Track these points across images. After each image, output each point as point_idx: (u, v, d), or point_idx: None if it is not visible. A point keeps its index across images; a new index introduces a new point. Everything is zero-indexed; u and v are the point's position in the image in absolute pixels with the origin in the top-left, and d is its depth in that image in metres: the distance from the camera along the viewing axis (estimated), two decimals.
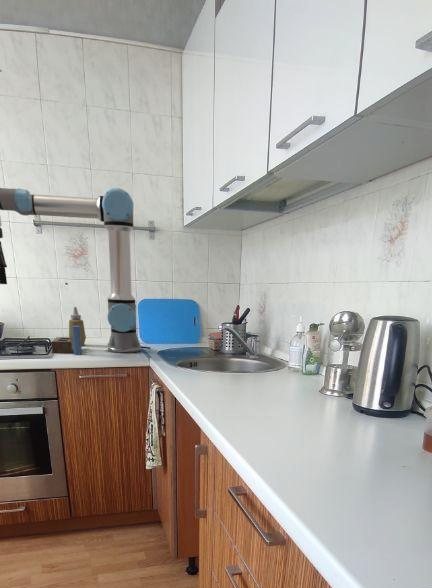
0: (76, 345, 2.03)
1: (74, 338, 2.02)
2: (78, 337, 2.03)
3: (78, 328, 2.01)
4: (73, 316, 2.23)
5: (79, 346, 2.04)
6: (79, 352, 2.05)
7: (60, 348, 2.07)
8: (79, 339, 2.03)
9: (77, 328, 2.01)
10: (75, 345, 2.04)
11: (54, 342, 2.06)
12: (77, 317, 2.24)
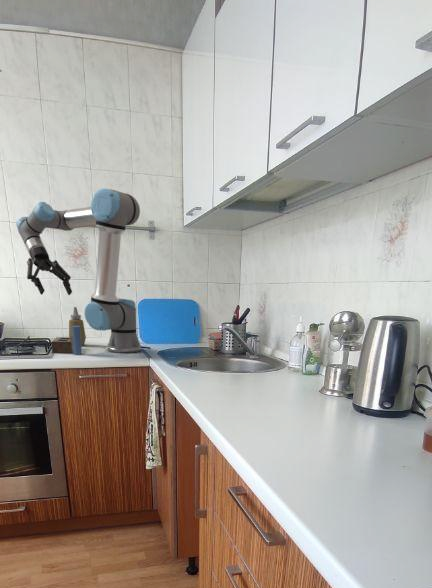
0: (76, 345, 2.03)
1: (74, 338, 2.02)
2: (78, 337, 2.03)
3: (78, 328, 2.01)
4: (73, 316, 2.23)
5: (79, 346, 2.04)
6: (79, 352, 2.05)
7: (60, 348, 2.07)
8: (79, 339, 2.03)
9: (77, 328, 2.01)
10: (75, 345, 2.04)
11: (54, 342, 2.06)
12: (77, 317, 2.24)
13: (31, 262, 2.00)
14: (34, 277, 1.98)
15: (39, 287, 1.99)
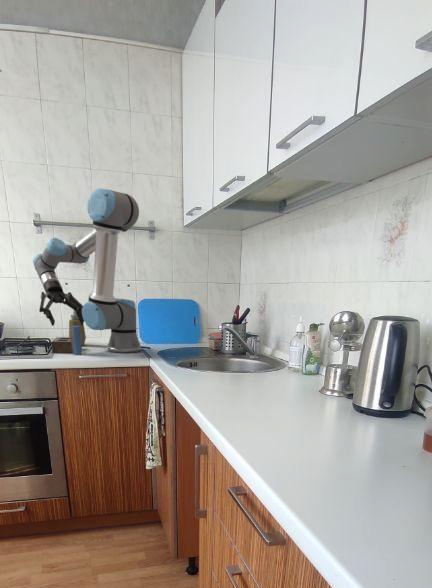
0: (76, 345, 2.03)
1: (74, 338, 2.02)
2: (78, 337, 2.03)
3: (78, 328, 2.01)
4: (73, 316, 2.23)
5: (79, 346, 2.04)
6: (79, 352, 2.05)
7: (60, 348, 2.07)
8: (79, 339, 2.03)
9: (77, 328, 2.01)
10: (75, 345, 2.04)
11: (54, 342, 2.06)
12: (77, 317, 2.24)
13: (43, 296, 2.05)
14: (45, 309, 2.03)
15: (50, 319, 2.03)
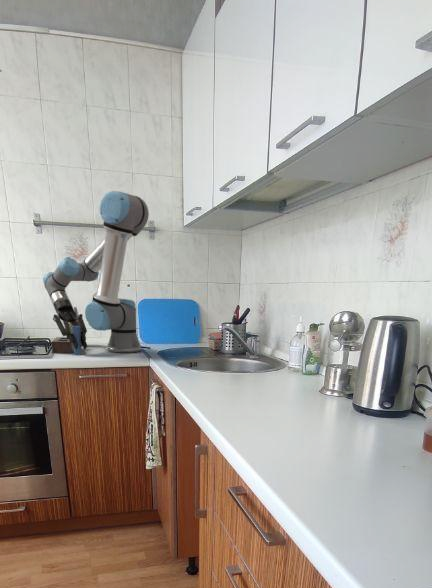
0: None
1: None
2: (78, 337, 2.03)
3: (78, 328, 2.01)
4: None
5: (79, 346, 2.04)
6: (79, 352, 2.05)
7: (60, 348, 2.07)
8: (79, 339, 2.03)
9: (77, 328, 2.01)
10: None
11: (54, 342, 2.06)
12: None
13: (58, 318, 2.02)
14: (69, 333, 2.01)
15: (73, 342, 2.02)
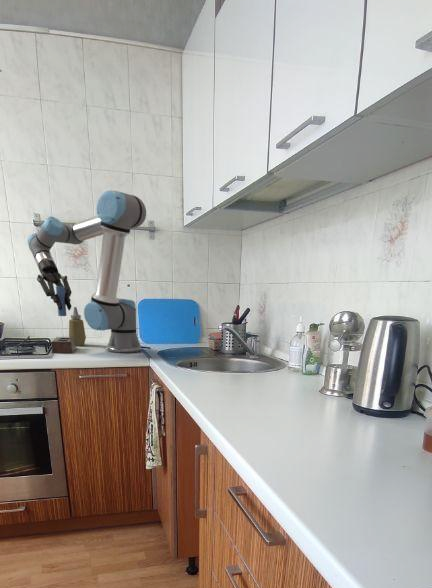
0: None
1: None
2: (62, 298, 2.01)
3: (62, 288, 2.00)
4: (73, 316, 2.23)
5: (63, 307, 2.03)
6: (63, 313, 2.04)
7: (60, 348, 2.07)
8: (63, 300, 2.02)
9: (61, 288, 2.00)
10: None
11: (54, 342, 2.06)
12: (77, 317, 2.24)
13: (42, 278, 2.00)
14: (53, 294, 2.00)
15: (57, 303, 2.00)
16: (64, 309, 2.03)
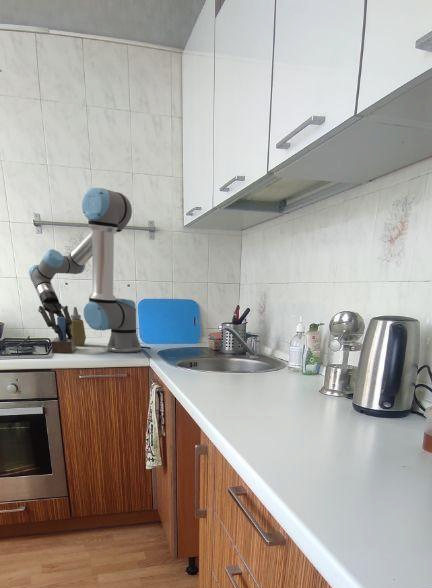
0: None
1: None
2: (63, 328, 2.07)
3: (63, 319, 2.05)
4: (73, 316, 2.23)
5: (64, 337, 2.08)
6: None
7: (60, 348, 2.07)
8: (64, 330, 2.07)
9: (62, 319, 2.05)
10: None
11: (54, 342, 2.06)
12: (77, 317, 2.24)
13: (43, 309, 2.06)
14: (54, 324, 2.05)
15: (58, 333, 2.06)
16: (65, 339, 2.09)
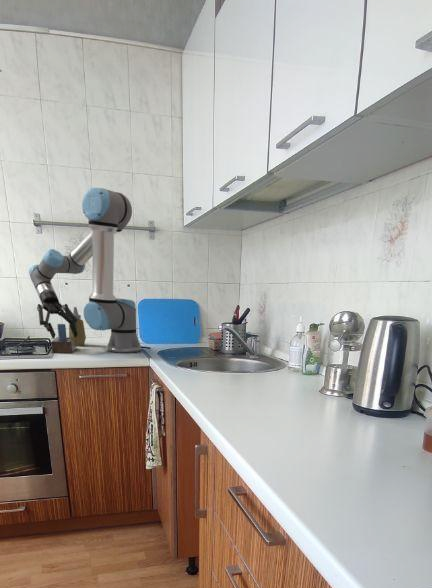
0: None
1: (60, 336, 2.08)
2: (63, 335, 2.08)
3: (63, 326, 2.07)
4: None
5: None
6: None
7: (60, 348, 2.07)
8: (64, 337, 2.08)
9: (62, 326, 2.06)
10: None
11: (54, 342, 2.06)
12: (77, 317, 2.24)
13: (41, 308, 2.05)
14: (46, 323, 2.04)
15: (51, 332, 2.04)
16: None
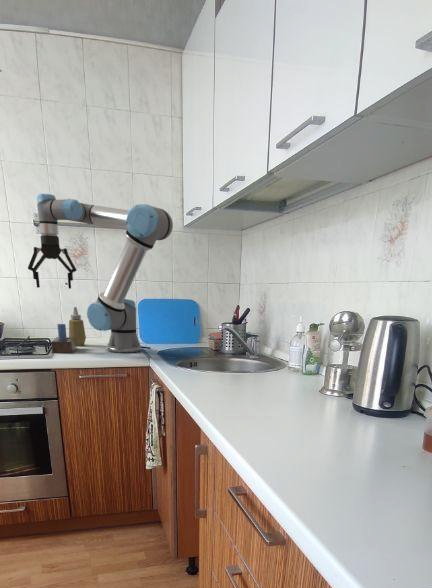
0: None
1: (60, 336, 2.08)
2: (63, 335, 2.08)
3: (63, 326, 2.07)
4: (73, 316, 2.23)
5: None
6: None
7: (60, 348, 2.07)
8: (64, 337, 2.08)
9: (62, 326, 2.06)
10: None
11: (54, 342, 2.06)
12: (77, 317, 2.24)
13: (35, 252, 2.01)
14: (33, 271, 2.04)
15: None
16: None
